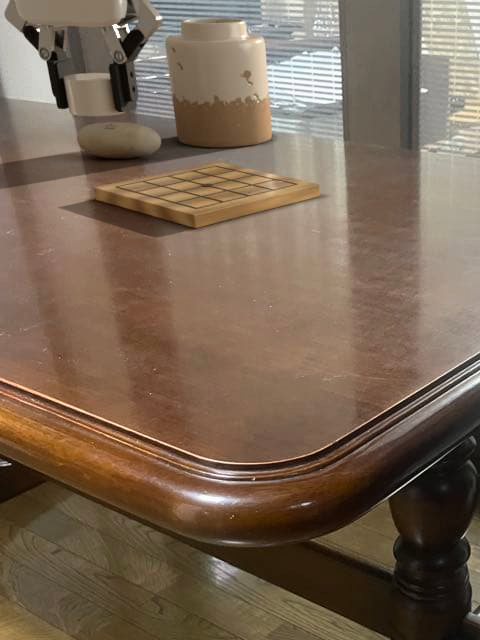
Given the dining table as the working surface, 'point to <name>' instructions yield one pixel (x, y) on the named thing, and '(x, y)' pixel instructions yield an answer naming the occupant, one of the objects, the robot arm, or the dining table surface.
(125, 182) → the board
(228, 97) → the vase
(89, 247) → the dining table surface
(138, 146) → the stone
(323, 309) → the dining table surface
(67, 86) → the cylinder
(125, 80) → the robot arm
